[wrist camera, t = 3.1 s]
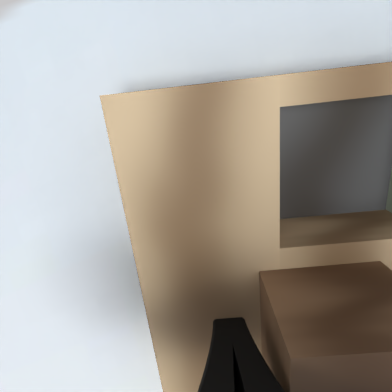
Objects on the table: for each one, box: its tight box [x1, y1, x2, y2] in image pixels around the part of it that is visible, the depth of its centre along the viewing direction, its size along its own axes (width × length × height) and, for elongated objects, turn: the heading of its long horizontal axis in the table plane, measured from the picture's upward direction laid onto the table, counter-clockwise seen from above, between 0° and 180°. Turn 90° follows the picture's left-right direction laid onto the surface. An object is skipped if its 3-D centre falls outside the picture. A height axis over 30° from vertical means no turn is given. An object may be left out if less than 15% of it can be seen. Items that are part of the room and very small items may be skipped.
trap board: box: [100, 62, 392, 392], centre depth 13 cm, size 18×20×3 cm
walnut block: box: [259, 261, 392, 392], centre depth 10 cm, size 5×5×4 cm
